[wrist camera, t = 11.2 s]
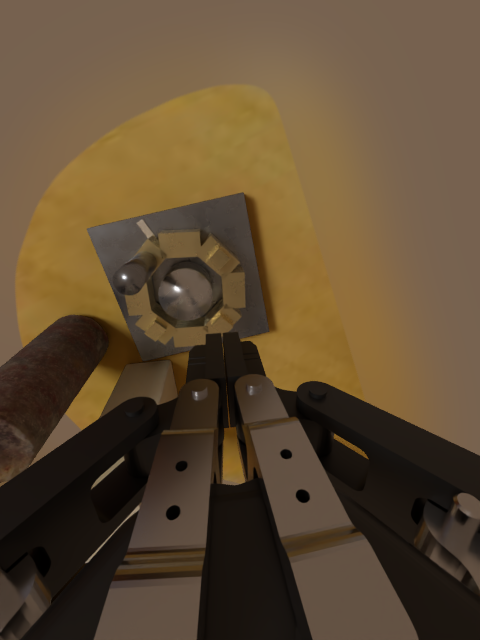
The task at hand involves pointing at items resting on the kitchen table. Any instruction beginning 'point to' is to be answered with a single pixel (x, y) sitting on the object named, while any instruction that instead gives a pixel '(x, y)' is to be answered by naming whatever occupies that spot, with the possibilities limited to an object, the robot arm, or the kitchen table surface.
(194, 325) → the tan block ring
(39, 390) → the candle
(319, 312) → the kitchen table surface
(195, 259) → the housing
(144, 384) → the light grey tall block
